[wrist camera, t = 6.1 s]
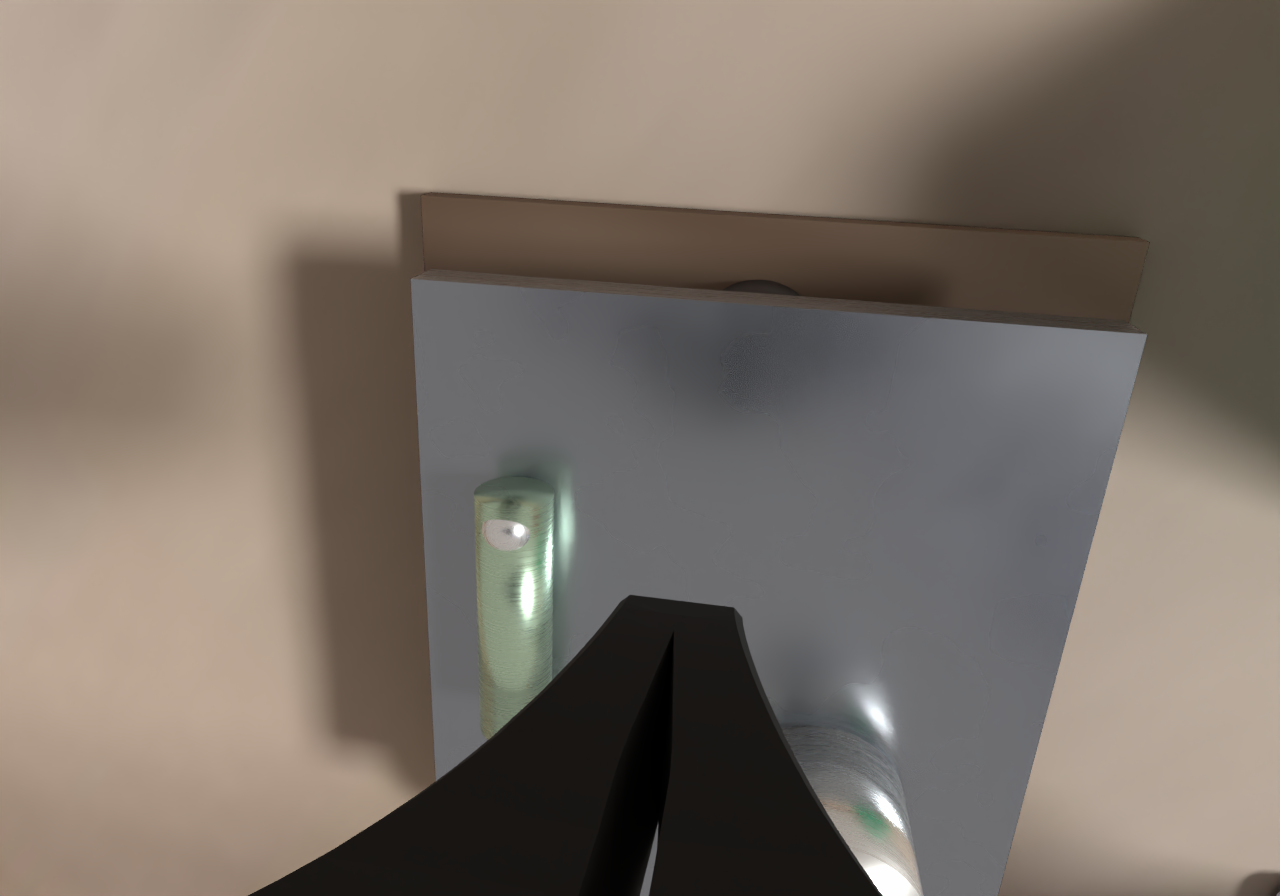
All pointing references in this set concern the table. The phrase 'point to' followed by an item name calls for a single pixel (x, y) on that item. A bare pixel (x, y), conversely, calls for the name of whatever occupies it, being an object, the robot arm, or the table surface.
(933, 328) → the level plate
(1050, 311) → the stand base
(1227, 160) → the table surface
